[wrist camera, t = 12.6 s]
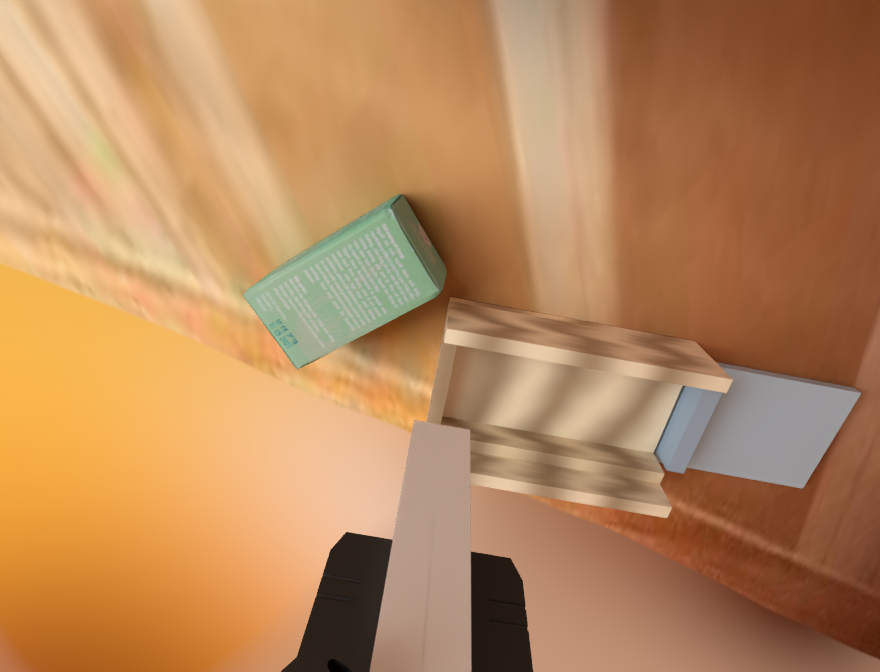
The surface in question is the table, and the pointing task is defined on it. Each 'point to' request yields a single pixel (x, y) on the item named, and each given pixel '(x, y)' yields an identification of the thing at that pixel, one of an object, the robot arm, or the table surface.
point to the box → (349, 283)
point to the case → (564, 402)
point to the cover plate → (755, 426)
